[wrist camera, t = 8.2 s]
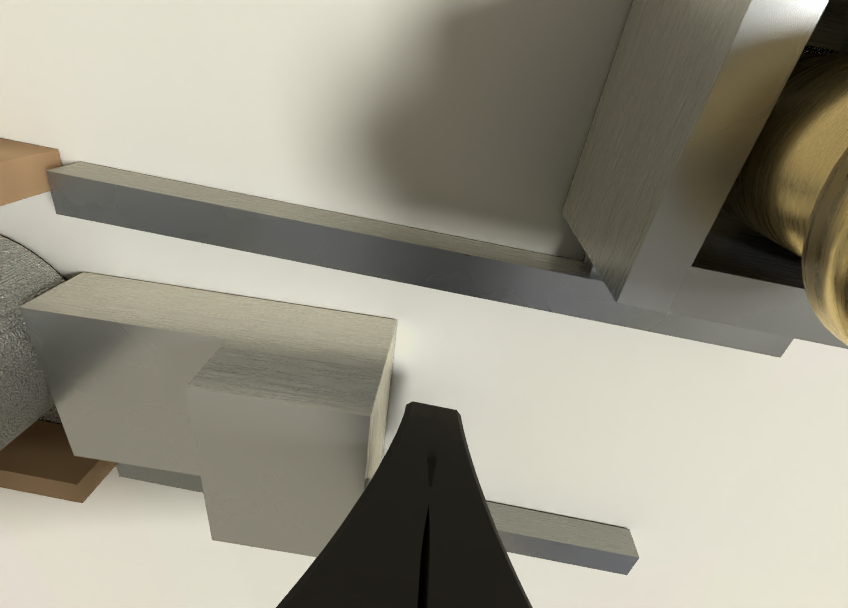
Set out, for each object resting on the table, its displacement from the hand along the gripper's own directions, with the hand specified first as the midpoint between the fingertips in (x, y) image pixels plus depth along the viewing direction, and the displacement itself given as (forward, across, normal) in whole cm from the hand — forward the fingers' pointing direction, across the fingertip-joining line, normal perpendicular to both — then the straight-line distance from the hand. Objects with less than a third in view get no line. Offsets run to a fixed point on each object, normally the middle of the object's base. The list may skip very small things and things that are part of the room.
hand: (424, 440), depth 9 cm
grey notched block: (+1, +4, 0) cm, 5 cm away
